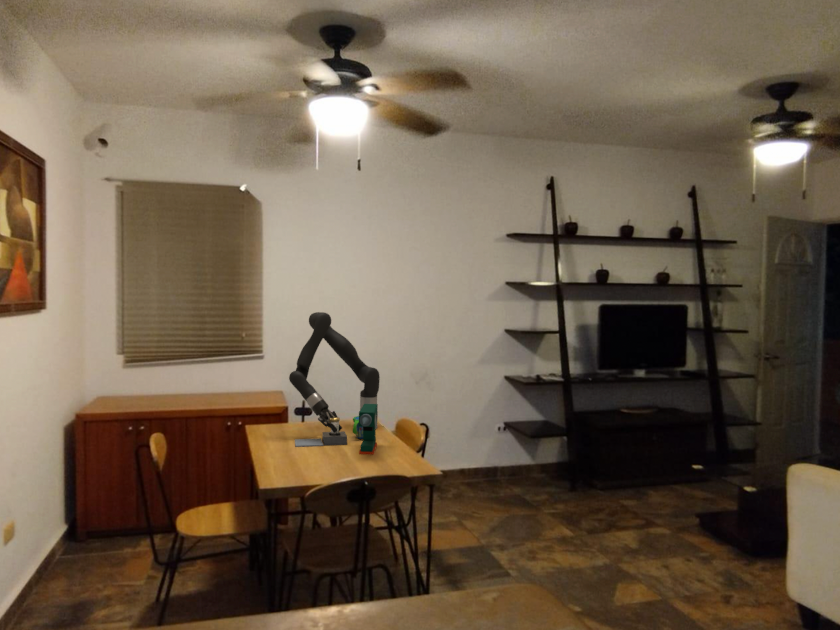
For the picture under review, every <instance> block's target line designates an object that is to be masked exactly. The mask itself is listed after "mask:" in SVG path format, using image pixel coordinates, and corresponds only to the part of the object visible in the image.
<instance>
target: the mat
mask: <svg viewBox="0 0 840 630" xmlns="http://www.w3.org/2000/svg"><path fill="white" fill-rule="evenodd" d="M294 446H295V448H300V447H301V448H302V447H306V448H309V447H324V444H323V440H322V438H320V437H319V438H295V439H294Z"/></svg>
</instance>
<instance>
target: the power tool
mask: <svg viewBox="0 0 840 630" xmlns="http://www.w3.org/2000/svg"><path fill="white" fill-rule="evenodd" d="M378 406H379V405H378V403H377V404H364V405H363V406H362V408H361V410H360V409H359V412H358V416H359V427H363V439H362V442H361V444H360V450H359V451H358V454H359V455H374V454H375V451H376V448H377V445H378V442H377V437H376V435H377V434H376V432H377V431H376V424H375V423H376V421H377V422H378V419H377V417H379V416H378V414H377V411H378Z"/></svg>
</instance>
